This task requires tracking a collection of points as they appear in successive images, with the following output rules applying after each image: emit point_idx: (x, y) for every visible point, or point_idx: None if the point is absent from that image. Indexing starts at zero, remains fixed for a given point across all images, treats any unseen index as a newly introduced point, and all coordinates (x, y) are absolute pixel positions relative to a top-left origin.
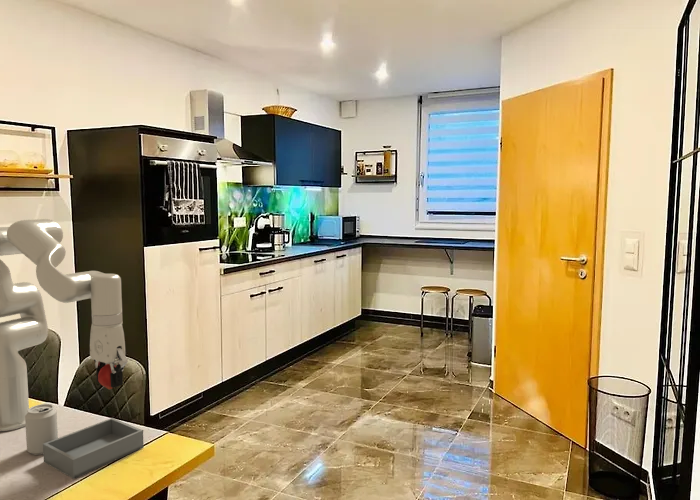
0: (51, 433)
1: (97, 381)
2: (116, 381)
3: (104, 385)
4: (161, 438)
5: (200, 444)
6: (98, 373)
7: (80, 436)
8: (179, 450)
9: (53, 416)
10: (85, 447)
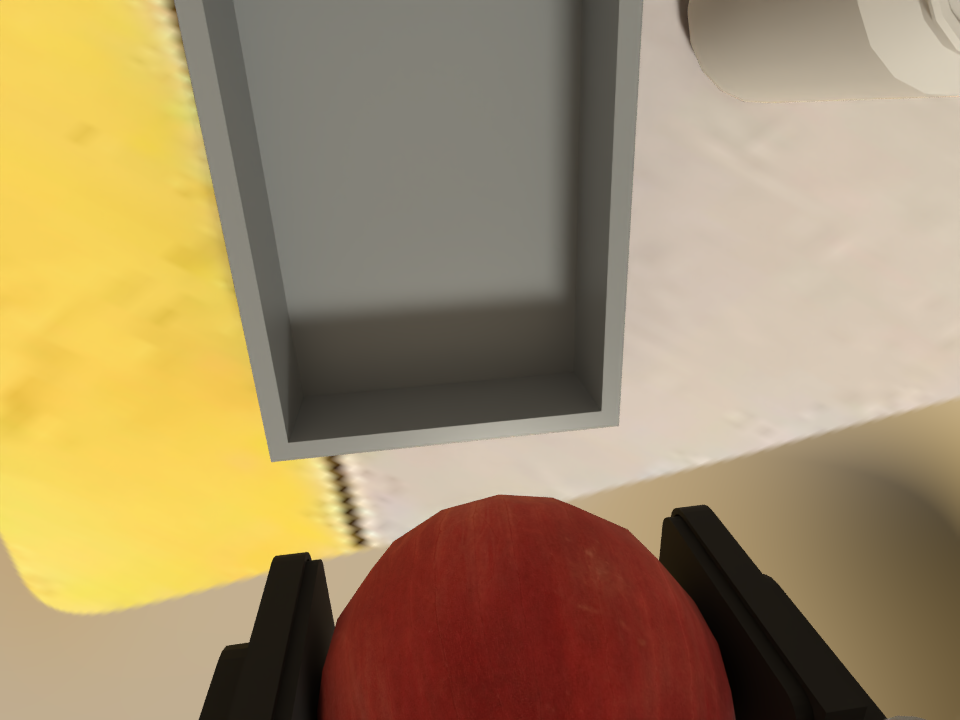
0: (748, 5)
1: (690, 511)
2: (213, 686)
3: (439, 512)
4: (324, 511)
5: (103, 598)
6: (743, 632)
7: (597, 180)
8: (113, 507)
9: (846, 16)
10: (531, 180)
